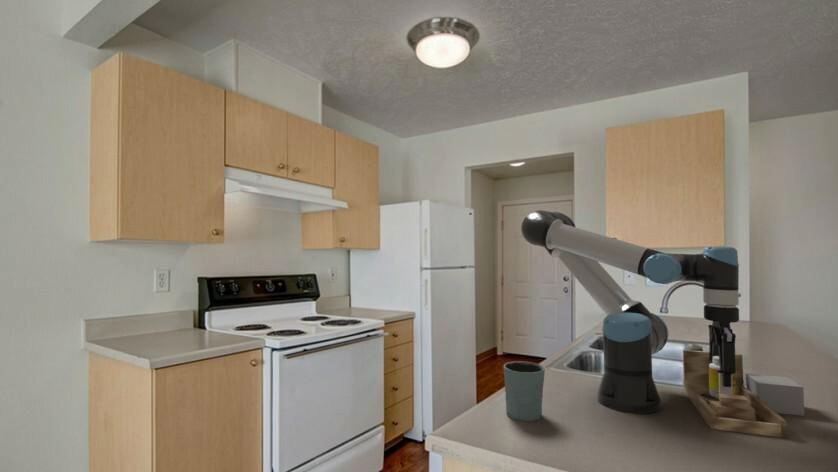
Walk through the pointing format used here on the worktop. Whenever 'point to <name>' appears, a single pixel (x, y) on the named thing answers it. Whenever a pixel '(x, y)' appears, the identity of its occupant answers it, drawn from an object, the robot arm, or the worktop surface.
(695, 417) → the worktop surface
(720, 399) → the offcut block
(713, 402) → the offcut slab top
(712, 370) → the supplement bottle
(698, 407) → the light wood open box
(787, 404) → the stone plinth
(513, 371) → the grey-green cup
